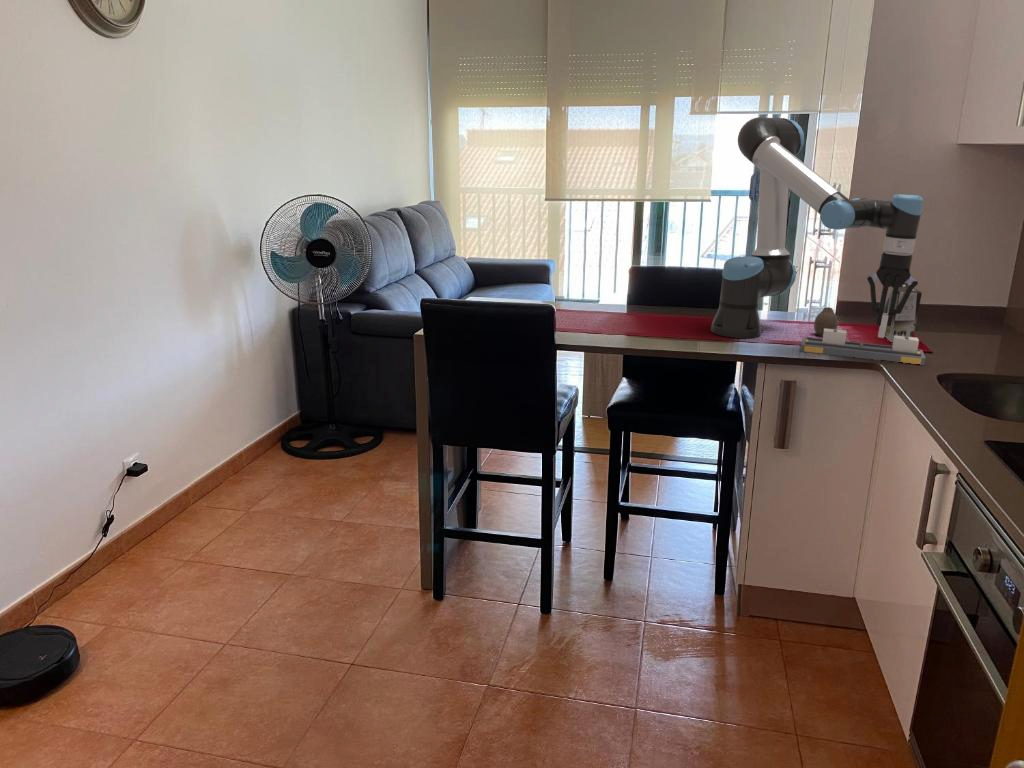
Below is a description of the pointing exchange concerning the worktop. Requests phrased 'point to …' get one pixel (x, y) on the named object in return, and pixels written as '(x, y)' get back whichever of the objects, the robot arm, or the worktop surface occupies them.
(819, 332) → the vase
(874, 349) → the grey slider track
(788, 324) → the worktop surface
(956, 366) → the worktop surface
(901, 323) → the coffee box
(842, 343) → the slider
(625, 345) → the worktop surface
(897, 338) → the slider
